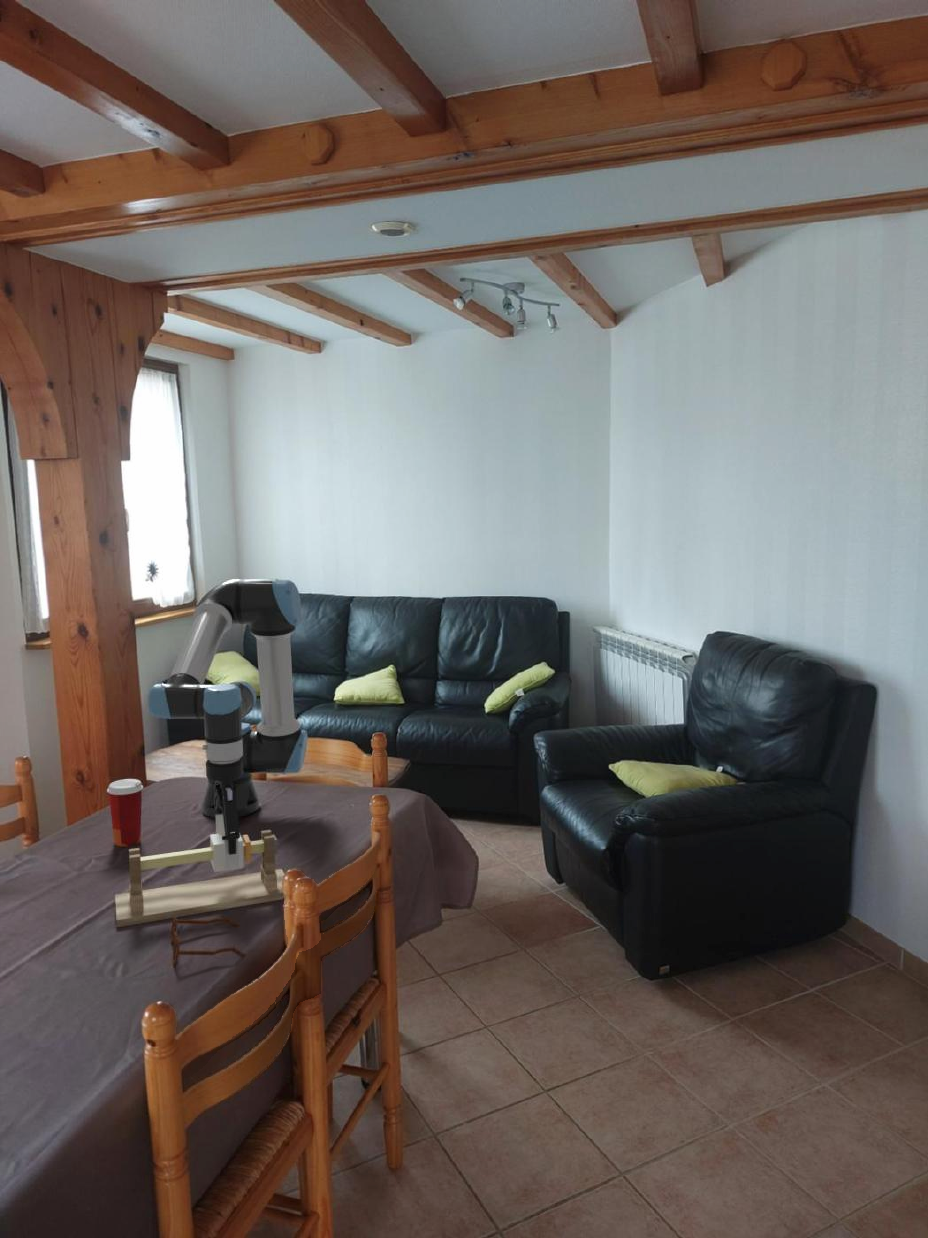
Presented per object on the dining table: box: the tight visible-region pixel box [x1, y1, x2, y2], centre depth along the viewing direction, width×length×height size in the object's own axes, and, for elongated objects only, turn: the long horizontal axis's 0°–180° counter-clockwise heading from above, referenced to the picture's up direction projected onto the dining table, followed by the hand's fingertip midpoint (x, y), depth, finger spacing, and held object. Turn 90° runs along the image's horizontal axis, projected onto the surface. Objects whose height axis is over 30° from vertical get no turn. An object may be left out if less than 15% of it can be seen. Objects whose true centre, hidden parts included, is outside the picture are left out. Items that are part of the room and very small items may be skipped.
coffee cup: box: [106, 778, 144, 848], centre depth 212 cm, size 8×8×15 cm
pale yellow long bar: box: [140, 834, 278, 871], centre depth 181 cm, size 4×29×4 cm, turn 113°
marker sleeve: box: [209, 832, 245, 873], centre depth 183 cm, size 6×6×6 cm
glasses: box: [170, 917, 247, 966], centre depth 163 cm, size 13×13×5 cm
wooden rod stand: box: [114, 829, 285, 928], centre depth 182 cm, size 12×35×12 cm, turn 113°
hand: (227, 854), depth 184 cm, fingers open, 13 cm apart
